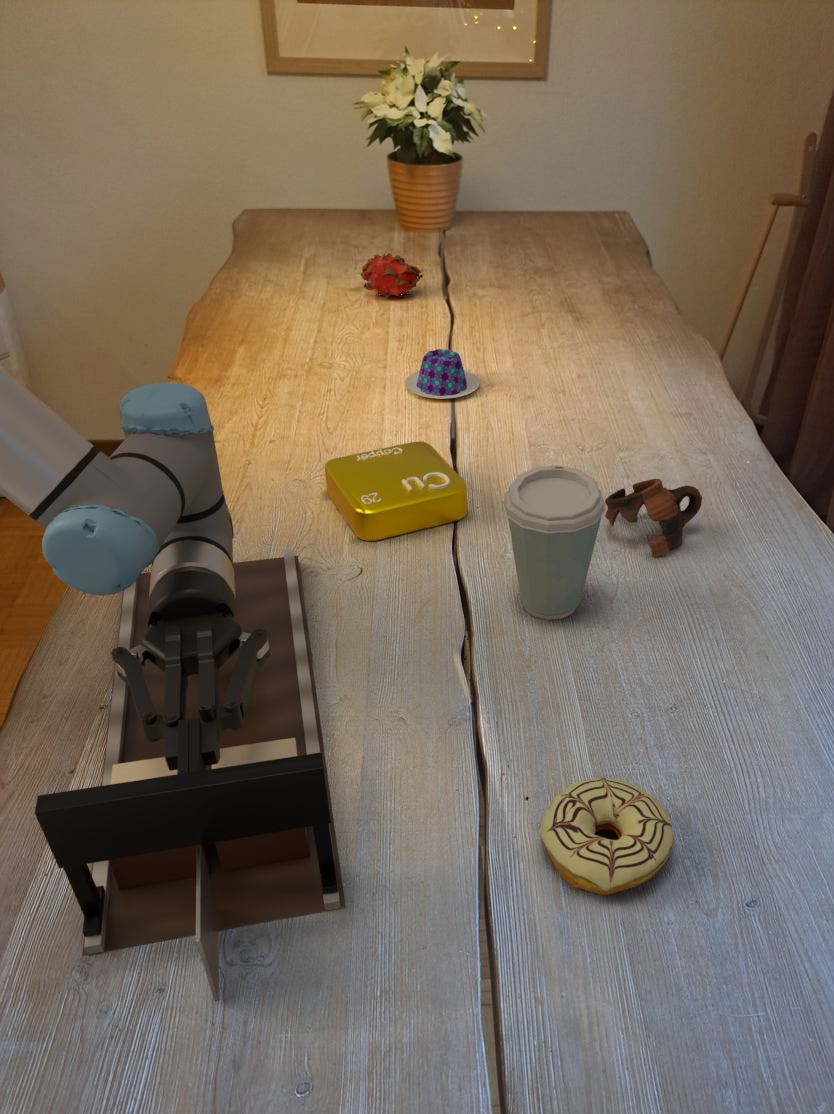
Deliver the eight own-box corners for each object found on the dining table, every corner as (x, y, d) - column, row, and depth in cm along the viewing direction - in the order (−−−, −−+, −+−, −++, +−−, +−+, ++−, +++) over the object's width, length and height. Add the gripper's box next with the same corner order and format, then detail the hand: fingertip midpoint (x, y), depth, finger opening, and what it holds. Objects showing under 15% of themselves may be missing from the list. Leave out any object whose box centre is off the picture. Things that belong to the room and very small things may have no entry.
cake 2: (221, 789, 82) (211, 749, 79) (301, 776, 84) (295, 737, 80) (222, 871, 76) (212, 831, 72) (310, 856, 77) (303, 816, 74)
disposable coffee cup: (590, 638, 101) (603, 519, 92) (491, 626, 103) (494, 507, 93) (598, 581, 109) (611, 467, 100) (507, 571, 111) (511, 457, 101)
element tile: (426, 466, 130) (425, 434, 127) (472, 518, 120) (472, 485, 117) (323, 489, 125) (319, 456, 122) (361, 545, 115) (358, 511, 112)
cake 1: (126, 804, 81) (112, 764, 78) (209, 791, 82) (199, 751, 79) (119, 889, 74) (103, 849, 71) (209, 874, 75) (198, 834, 72)
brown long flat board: (127, 583, 108) (122, 567, 107) (298, 563, 112) (296, 547, 110) (85, 965, 70) (78, 948, 69) (347, 916, 74) (344, 900, 72)
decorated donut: (515, 848, 79) (517, 819, 77) (596, 782, 85) (600, 753, 83) (612, 924, 73) (617, 895, 71) (692, 847, 79) (699, 818, 77)
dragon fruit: (357, 302, 184) (418, 310, 186) (360, 289, 176) (423, 296, 178) (360, 258, 184) (421, 266, 186) (362, 242, 175) (426, 251, 177)
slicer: (89, 900, 73) (39, 782, 64) (336, 857, 76) (320, 740, 68) (74, 1029, 65) (15, 913, 56) (352, 974, 68) (336, 858, 60)
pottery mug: (636, 570, 112) (613, 506, 110) (609, 560, 121) (587, 500, 119) (724, 530, 113) (704, 466, 111) (690, 523, 122) (671, 463, 120)
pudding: (492, 380, 152) (493, 349, 149) (457, 409, 144) (457, 376, 141) (428, 366, 157) (427, 335, 153) (390, 393, 148) (389, 361, 145)
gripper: (271, 624, 88) (290, 813, 71) (126, 642, 86) (108, 844, 68) (261, 558, 84) (278, 743, 66) (107, 576, 81) (82, 773, 64)
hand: (191, 794), depth 67 cm, fingers closed
